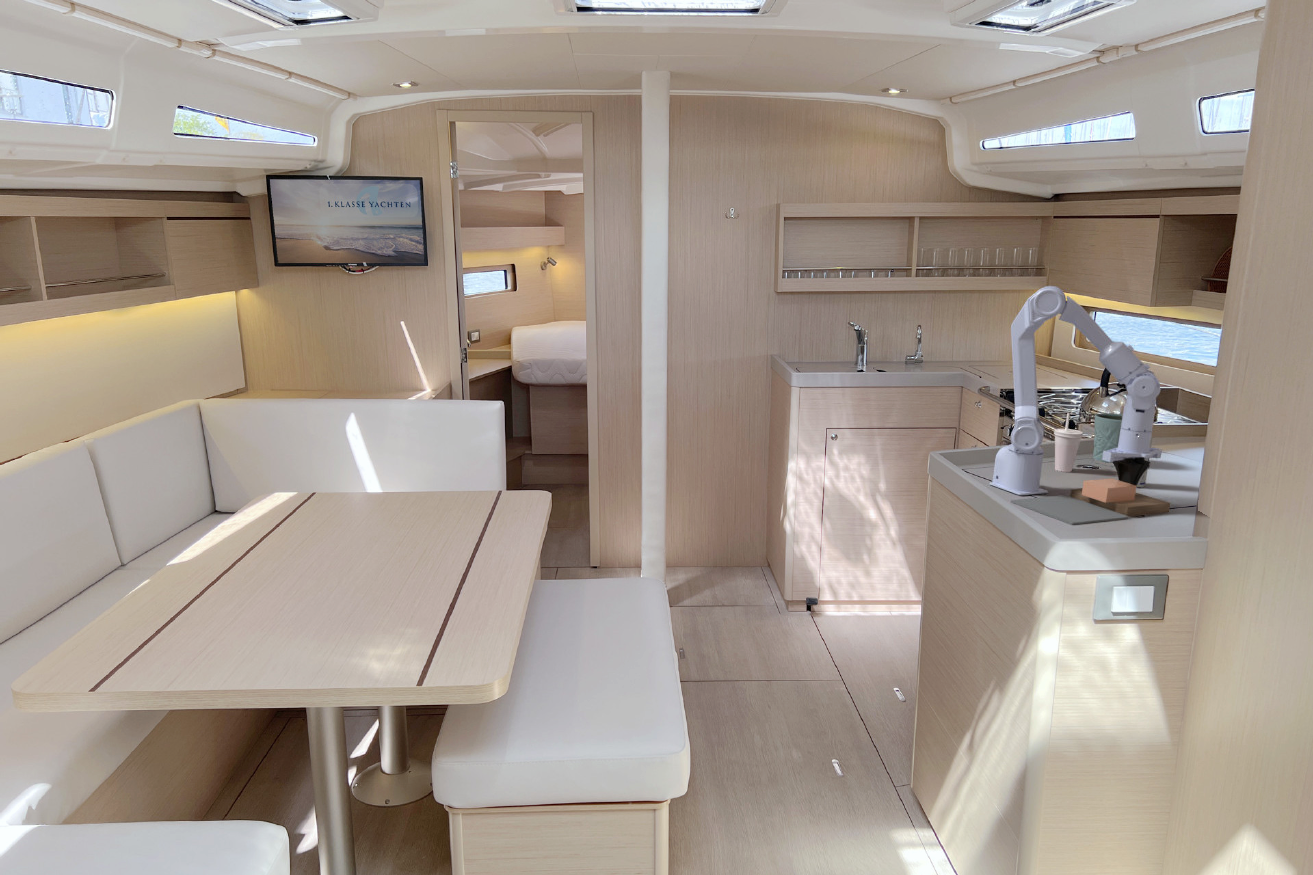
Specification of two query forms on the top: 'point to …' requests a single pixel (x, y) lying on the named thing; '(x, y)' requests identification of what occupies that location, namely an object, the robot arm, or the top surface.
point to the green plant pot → (1106, 433)
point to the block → (1109, 490)
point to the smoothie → (1066, 447)
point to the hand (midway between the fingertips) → (1126, 492)
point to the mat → (1069, 509)
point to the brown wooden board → (1128, 504)
